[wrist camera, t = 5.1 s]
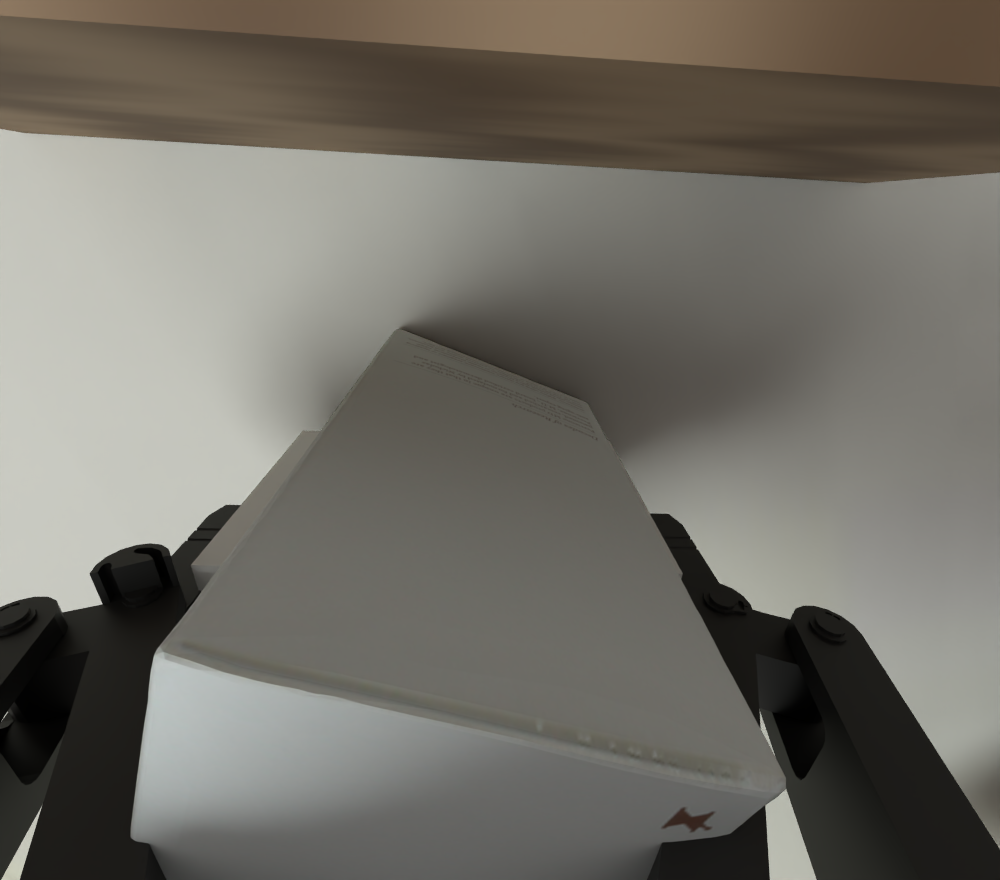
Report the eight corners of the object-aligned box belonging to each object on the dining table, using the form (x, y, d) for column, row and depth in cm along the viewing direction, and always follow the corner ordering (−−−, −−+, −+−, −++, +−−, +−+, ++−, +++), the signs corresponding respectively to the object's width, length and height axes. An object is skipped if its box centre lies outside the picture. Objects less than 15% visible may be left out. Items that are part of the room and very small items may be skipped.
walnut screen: (882, 135, 13) (1702, -26, 4) (865, 182, 14) (1568, 126, 5) (5, 78, 12) (-1341, -300, 3) (23, 132, 13) (-1096, -64, 4)
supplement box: (394, 320, 15) (132, 635, 4) (593, 401, 17) (826, 801, 5) (336, 496, 18) (90, 974, 7) (510, 552, 20) (547, 1020, 8)
